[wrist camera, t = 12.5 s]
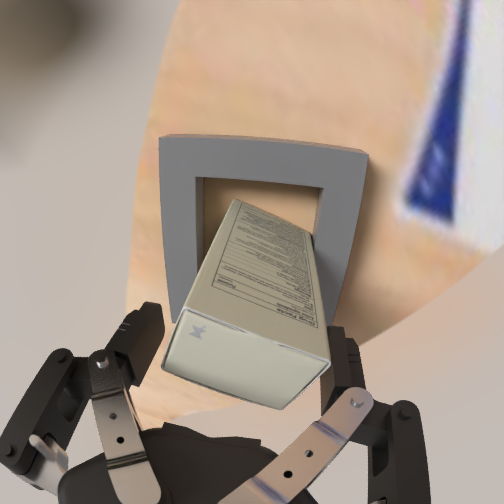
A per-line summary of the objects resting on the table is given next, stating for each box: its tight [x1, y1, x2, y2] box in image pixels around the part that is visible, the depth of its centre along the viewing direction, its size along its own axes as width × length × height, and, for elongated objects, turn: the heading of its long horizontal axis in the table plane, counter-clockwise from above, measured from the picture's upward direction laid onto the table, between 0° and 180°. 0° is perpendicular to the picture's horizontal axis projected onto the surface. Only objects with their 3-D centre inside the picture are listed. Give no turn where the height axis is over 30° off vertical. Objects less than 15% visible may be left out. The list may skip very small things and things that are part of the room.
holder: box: [159, 134, 369, 328], centre depth 21 cm, size 13×15×2 cm
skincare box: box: [161, 199, 331, 410], centre depth 17 cm, size 6×4×12 cm
